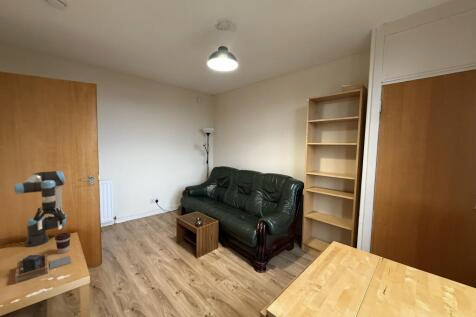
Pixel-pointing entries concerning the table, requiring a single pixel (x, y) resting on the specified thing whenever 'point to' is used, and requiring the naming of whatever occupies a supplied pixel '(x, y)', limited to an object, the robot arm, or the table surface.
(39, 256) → the box
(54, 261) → the pad
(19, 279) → the shallow wooden tray
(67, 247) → the coffee cup
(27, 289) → the table surface
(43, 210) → the robot arm
